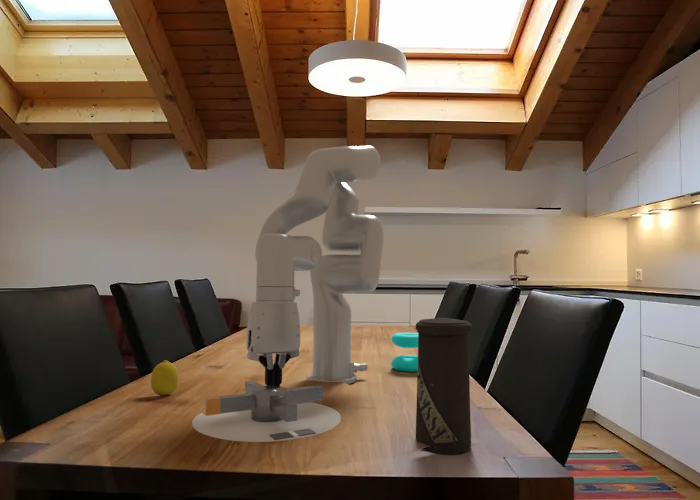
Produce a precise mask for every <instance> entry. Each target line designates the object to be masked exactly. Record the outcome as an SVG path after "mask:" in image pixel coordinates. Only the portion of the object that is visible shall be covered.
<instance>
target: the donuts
mask: <svg viewBox="0 0 700 500" xmlns="http://www.w3.org/2000/svg"><path fill="white" fill-rule="evenodd" d="M391 342H392V344H394V346H397V347H399V348H405V349H416V348H417V349H418V332H396V333H394V334H393V335H392V336H391ZM390 364H391V368H393V369H394V370H396V371H399V372H405V373H406V372H407V373H409V372H410V373H413V372H414V373H415V372H417V371H418V355H408V354H406V355H404V354H403V355H398V356H395V357H394V358H393V359H392V361H391V363H390Z"/></svg>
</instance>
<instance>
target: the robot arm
mask: <svg viewBox="0 0 700 500" xmlns="http://www.w3.org/2000/svg"><path fill="white" fill-rule="evenodd" d="M381 165H382V164H381V155H380V152H379V151H378V150H377V148H375V147H374V146H372V145H359V146H357V145H355V146H354V145H350V146H349V145H347V146H339V147H338V146H336V147H335V146H334V147H325V148H324V147H323V148H318V149H316V150H313V151H312V152H310V153H309V154H308V156H307V158H306V160H305V163H304V165H303V169H302V171H301V174H300V177H299V180H298V182H297V186H296V187H295V189H294V190H295V191H294V193H293V195H292V196H291V197H289V198H288V199H287V200H285V201H284V202H283V203H281V204H280V205H279V206H278V207H277V208H276V209H275V210H274V211H273V212H272V213H270V214H269V216H268V217H267V218H266V220H264V221H265V222H264V224H263V225H262V228H261V231H260V233H259V235H258V238H257V241H256V246H255V261H256V280H255V282H256V284H255V286H256V288H255V290H256V291H255V292H256V293H255V294H256V296H255V301H254V302H251V304H250V307H249V308H250V309H249V312H248V313H249V314H248V321H247V327H246V328H247V329H246V339H245V346H246V350H247V355H246V358H247V360H250V361H255V362H258V363H259V364H261V365H262V367H264V384H265V386H281V384H283V369H285V366H286V364H287V363H288V361H290V360H291V359H294V358H297V357H299V356H300V347H301V323H300V313H299V308H298V304H297V302H296V301H295V300H296V297H300V295H301V290H300V289H296V286H295V272H305V271H306V272H308V271H309V273H310V275H309V276H310V282H311V283H310V284H311V288H312V295H313V296H312V297H313V298H312V299H313V324H312V325H313V327H312V329H313V330H312V334H313V335H312V372H310V373H308V374H307V375H306V382H307V381H313V382H321V383H343V384H345V385H346V384H347V385H349V384H354V383H355V382H357V375H356V374H355V373H357V372H364V371H365V372H366V371H367V370H368V364H367V363H366V362H362V363H357V362H354V361H351V358H352V357H351V354H352V352H351V351H352V346H351V345H352V309H351V306H350V304H349V302H348V301H347V299H346V297H345V295H344V294H346V293H350V294H369V293H372V292H374V291H375V290H376V288H377V286H378V284H379V281H380V273H381V272H380V271H381V263H382V256H383V246H384V228H383V224H382V222H381V220H380V219H379V217H378V216H375V215H374V214H373V215H371V214H359V206H360V205H359V204H360V201H359V197H358V196H357V194H356V193H355V191H354V189H352V188H351V187H350V186H349V184H348V183H354V182H355V183H356V182H364V181H368V180H372V179H374V178H376V177H377V176H378V174H379V173H380V170H381ZM324 214H325V216H324V219H323V228H322V235H321V236H322V237H321V240H322V245H323V247H324V248H325V249H326V250H327V251H331V252H337V253H360V254H325V255H323V253H322V247H321V245H320V243H319V242H318V241H317V239H315V238H313V237H312V236H307V235H290V234H288V233H290V232H291V231H292V230H293V229H295V228H296V227H298V226H301V225H302V224H305V223H307V222H310V221H312V220H314V219H317V218H318V217H320V216H322V215H324ZM273 354H274V357H273ZM273 358H274V359H273Z"/></svg>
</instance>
